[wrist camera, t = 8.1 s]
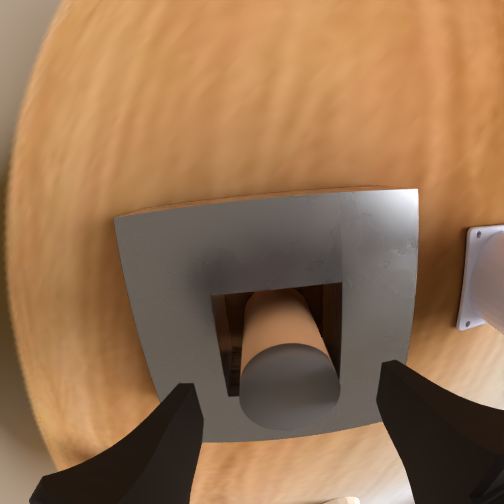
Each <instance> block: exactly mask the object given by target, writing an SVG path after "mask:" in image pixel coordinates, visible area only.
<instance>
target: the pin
mask: <svg viewBox="0 0 504 504" xmlns="http://www.w3.org/2000/svg"><path fill="white" fill-rule="evenodd" d="M340 391H341V386H340V381H339V378H338V376H337V374H336V371H335V369H334V366H333V364H332V361H331V359H330V357H329V354H328V352H327V349H326V347H325V345H324V342H323V340H322V337H321V335H320V333H319V330H318V328H317V326H316V323H315V321H314V319H313V316H312V314H311V312H310V309H309V307H308V305H307V302H306V300H305V298H304V297H303V296H302V294H301V293H300V292H299V291H297V290H296V289H294V288H284V289H274V290H264V291H256V292H255V293H254V294H253V295H252V296H251V297H250V298H249V300H248V302H247V304H246V306H245V311H244V326H243V342H242V358H241V375H240V392H239V402H240V406H241V408H242V411H243V412H244V414H245V415H246V416H247V417H248V418H249V419H250V420H251V421H252V422H254V423H256V424H257V425H259V426H261V427H264V428H267V429H271V430H278V431H290V430H297V429H302V428H305V427H308V426H311V425H313V424H315V423H317V422H318V421H320V420H322V419H323V418H324V417H326V416H327V415H328V414H329V413H330V412H331V411H332V410H333V408H334V407H335V405H336V404H337V402H338V399H339V396H340Z"/></svg>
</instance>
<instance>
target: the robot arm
mask: <svg viewBox="0 0 504 504" xmlns="http://www.w3.org/2000/svg"><path fill="white" fill-rule="evenodd" d="M477 232H478V236H477ZM467 321H468V322H467ZM484 323H489V324H490V325H491V326H493V327H494V328H495V329H497V330H498V331H500V332H501V333H502V334H504V224H503V225H492V226H481V227H471V228H470V229H469V230H468V232H467V244H466V258H465V270H464V279H463V287H462V295H461V302H460V308H459V314H458V320H457V328H458V329H459V330H460V331H462V330H466V329H469V328H472V327H475V326H478V325H481V324H484ZM376 403H377V406H378V409H379V412H380V415H381V418H382V421H383V423H384V425H385V427H386V429H387V431H388V433H389V436H390V438H391V440H392V442H393V444H394V446H395V448H396V450H397V452H398V454H399V456H400V458H401V460H402V462H403V465H404V467H405V470H406V473H407V476H408V479H409V483H410V486H411V490H412V494H413V497H414V501H415V504H504V410H500V409H496V408H492V407H488V406H484V405H481V404H478V403H475V402H473V401H470V400H467V399H465V398H462V397H460V396H458V395H456V394H454V393H452V392H450V391H448V390H446V389H444V388H442V387H440V386H438V385H436V384H435V383H433V382H431V381H430V380H428V379H426V378H425V377H423V376H421V375H420V374H418V373H417V372H415V371H414V370H412V369H410V368H409V367H407V366H406V365H404V364H403V363H401V362H399V361H397V360H391V361H387V362H382V365H381V372H380V378H379V385H378V391H377V397H376ZM203 427H204V418H203V414H202V411H201V407H200V404H199V400H198V396H197V393H196V389H195V385H194V383H178V384H177V386H176V387H175V388H174V389H173V390H172V391H171V392H170V393H169V394H168V396H167V397H166V398H165V399H164V400H163V401H162V402H161V403H160V404H159V405H158V407H157V408H156V409H155V410H154V411H153V412H152V413H151V414H150V415H149V416H148V417H147V418H146V419H145V420H144V421H143V422H142V423H141V424H140V425H138V426H137V427H136V428H135V429H134V430H133V431H132V432H131V433H129V434H128V435H127V436H126V437H124V438H123V439H122V440H120V441H119V442H117V443H116V444H115V445H113V446H112V447H110V448H109V449H107V450H105V451H103V452H102V453H100V454H98V455H97V456H95V457H93V458H91V459H89V460H87V461H85V462H83V463H81V464H79V465H76V466H74V467H71V468H69V469H66V470H63V471H60V472H57V473H53V474H50V475H46V476H43V477H42V479H41V480H40V482H39V484H38V485H37V487H36V489H35V491H34V492H33V494H32V496H31V498H30V499H29V503H30V504H189V502H190V493H191V487H192V483H193V478H194V474H195V470H196V466H197V462H198V457H199V453H200V449H201V444H202V438H203Z"/></svg>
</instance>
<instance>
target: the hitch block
mask: <svg viewBox="0 0 504 504" xmlns="http://www.w3.org/2000/svg"><path fill="white" fill-rule="evenodd" d="M113 219H114V226H115V232H116V238H117V243H118V249H119V254H120V259H121V264H122V269H123V274H124V279H125V283H126V288H127V292H128V296H129V301H130V305H131V309H132V313H133V317H134V320H135V324H136V328H137V332H138V335H139V339H140V342H141V346H142V349H143V352H144V356H145V359H146V362H147V365H148V368H149V372H150V375H151V378H152V381H153V384H154V386H155V389H156V392H157V395H158V398H159V401H160V403H161V402H162V401H163V400H164V399H165V398H166V397H167V396H168V394H169V393H170V392H171V391H172V390H173V389H174V388H175V387H176V386H177V384H178V383H194V385H195V389H196V393H197V396H198V400H199V404H200V407H201V411H202V414H203V418H204V427H203V438H202V442H249V441H265V440H277V439H287V438H295V437H303V436H311V435H317V434H324V433H330V432H335V431H341V430H346V429H351V428H356V427H360V426H365V425H369V424H373V423H377V422H381V421H382V418H381V415H380V412H379V409H378V406H377V403H376V397H377V391H378V385H379V378H380V372H381V365H382V362H387V361H391V360H397V361H399V362H401V363H403V364H404V365H406V361H407V356H408V350H409V343H410V337H411V330H412V322H413V314H414V305H415V294H416V282H417V266H418V233H419V218H418V189H412V188H402V187H390V186H362V187H343V188H327V189H312V190H299V191H287V192H275V193H264V194H254V195H244V196H235V197H226V198H217V199H209V200H201V201H193V202H185V203H178V204H170V205H163V206H156V207H150V208H145V209H141V210H138V211H134V212H131V213H128V214H124V215H121V216H118V217H114V218H113ZM320 284H322V288H323V342H324V345H325V347H326V349H327V352H328V354H329V357H330V359H331V361H332V364H333V366H334V369H335V371H336V374H337V376H338V378H339V381H340V386H341V391H340V396H339V399H338V402H337V404H336V405H335V407H334V408H333V410H332V411H331V412H330V413H329V414H328V415H327V416H326V417H324V418H323V419H322V420H320V421H318V422H317V423H315V424H313V425H311V426H308V427H305V428H302V429H297V430H290V431H278V430H271V429H267V428H264V427H261V426H259V425H257V424H256V423H254V422H252V421H251V420H250V419H249V418H248V417H247V416H246V415H245V414H244V412H243V411H242V408H241V406H240V402H239V392H240V375H241V358H242V353H233V351H232V345H231V338H230V332H229V325H228V318H227V312H226V305H225V298H224V294H232V293H243V292H254V291H264V290H274V289H284V288H293V287H303V286H312V285H320Z"/></svg>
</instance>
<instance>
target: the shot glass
mask: <svg viewBox="0 0 504 504" xmlns="http://www.w3.org/2000/svg"><path fill="white" fill-rule="evenodd" d="M323 504H360V502H359V500H358V498H355V497H343V498H337V499H334V500H330V501H327V502H325V503H323Z"/></svg>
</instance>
